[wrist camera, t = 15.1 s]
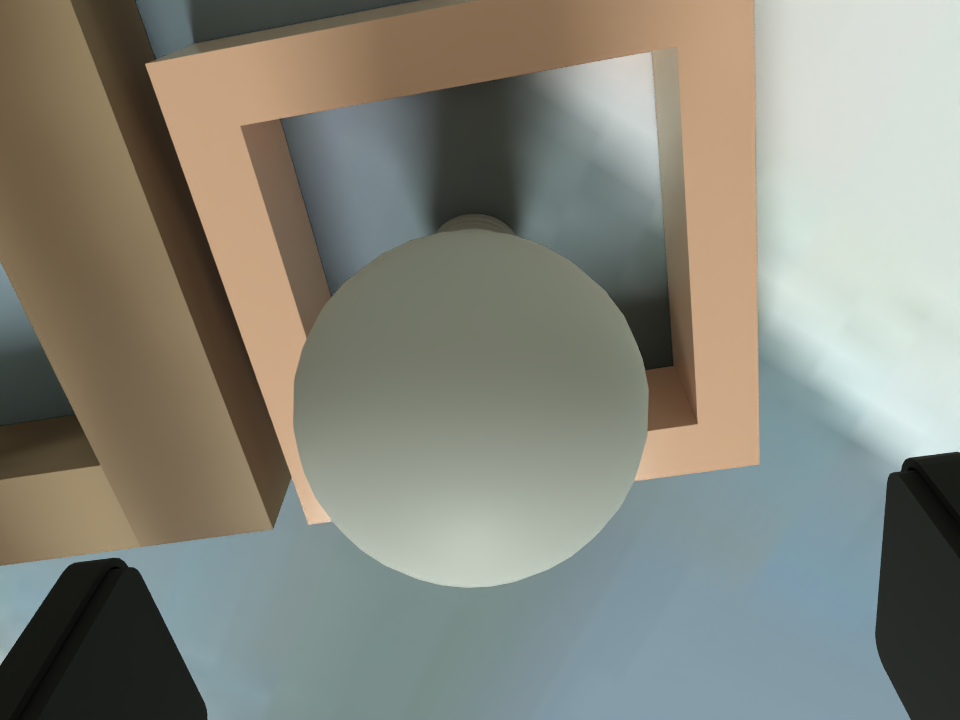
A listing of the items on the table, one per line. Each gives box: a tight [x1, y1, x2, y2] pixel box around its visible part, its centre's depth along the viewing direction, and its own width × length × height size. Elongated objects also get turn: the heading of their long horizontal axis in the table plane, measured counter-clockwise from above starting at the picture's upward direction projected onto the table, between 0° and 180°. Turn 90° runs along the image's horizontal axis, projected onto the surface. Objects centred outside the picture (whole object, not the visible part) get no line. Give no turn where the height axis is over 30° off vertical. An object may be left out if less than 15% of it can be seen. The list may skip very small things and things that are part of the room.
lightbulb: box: [293, 214, 649, 588], centre depth 16 cm, size 6×6×11 cm
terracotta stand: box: [145, 0, 759, 524], centre depth 20 cm, size 12×12×3 cm
